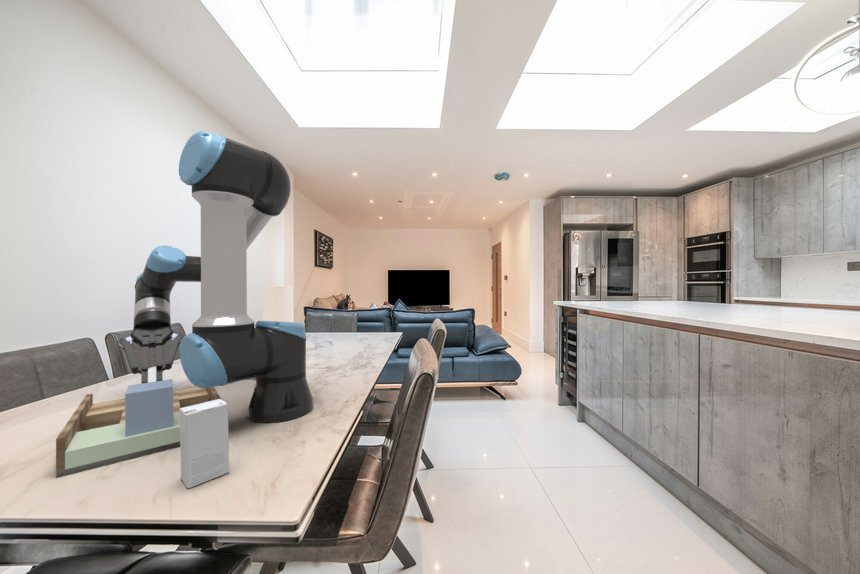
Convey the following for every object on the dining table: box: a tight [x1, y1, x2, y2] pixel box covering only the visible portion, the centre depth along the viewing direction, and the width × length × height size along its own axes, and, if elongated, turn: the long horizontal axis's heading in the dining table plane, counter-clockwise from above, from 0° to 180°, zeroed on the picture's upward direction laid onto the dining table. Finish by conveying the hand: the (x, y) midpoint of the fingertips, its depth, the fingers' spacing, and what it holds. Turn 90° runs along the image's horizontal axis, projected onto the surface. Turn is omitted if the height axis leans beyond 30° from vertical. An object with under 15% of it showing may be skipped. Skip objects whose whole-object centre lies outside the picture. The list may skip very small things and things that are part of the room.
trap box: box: [55, 386, 222, 479], centre depth 73 cm, size 30×24×6 cm
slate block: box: [124, 378, 174, 437], centre depth 65 cm, size 7×7×8 cm
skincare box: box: [179, 398, 230, 489], centre depth 54 cm, size 6×4×12 cm
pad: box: [65, 412, 180, 469], centre depth 66 cm, size 10×22×3 cm, turn 130°
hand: (151, 395), depth 75 cm, fingers closed
